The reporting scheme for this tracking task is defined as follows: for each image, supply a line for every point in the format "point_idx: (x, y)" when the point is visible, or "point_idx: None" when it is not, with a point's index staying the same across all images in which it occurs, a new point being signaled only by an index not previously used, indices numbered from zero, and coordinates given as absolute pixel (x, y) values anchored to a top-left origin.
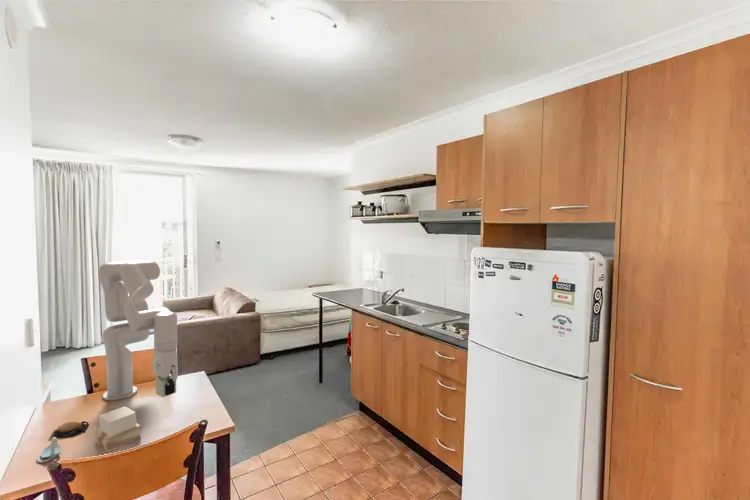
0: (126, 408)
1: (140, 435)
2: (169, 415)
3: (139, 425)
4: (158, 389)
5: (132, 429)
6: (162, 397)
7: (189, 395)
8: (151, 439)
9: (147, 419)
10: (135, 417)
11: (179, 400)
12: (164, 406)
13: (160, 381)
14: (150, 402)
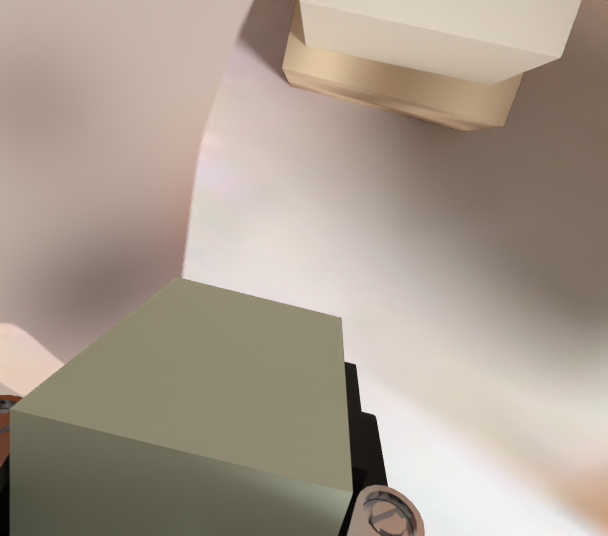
0: (492, 22)
1: (288, 81)
2: (357, 336)
3: (288, 64)
4: (263, 335)
5: (296, 5)
6: (177, 277)
7: (438, 520)
8: (215, 105)
9: (445, 257)
10: (303, 17)
11: (446, 468)
12: (475, 396)
13: (117, 420)
14: (601, 400)
